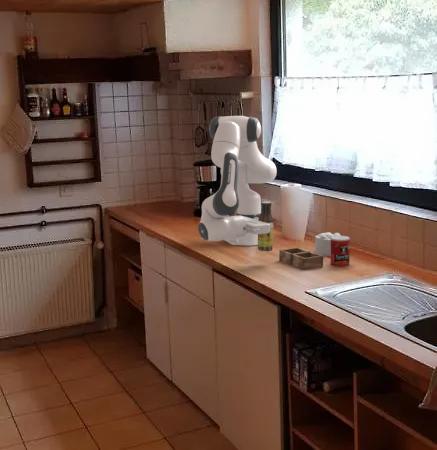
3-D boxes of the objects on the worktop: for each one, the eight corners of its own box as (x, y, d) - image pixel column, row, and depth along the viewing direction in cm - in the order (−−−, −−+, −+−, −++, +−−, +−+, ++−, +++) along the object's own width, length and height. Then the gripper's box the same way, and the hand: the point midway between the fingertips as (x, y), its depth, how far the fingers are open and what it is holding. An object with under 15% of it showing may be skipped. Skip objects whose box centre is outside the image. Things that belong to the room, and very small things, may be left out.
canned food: (334, 266, 287) (334, 240, 285) (327, 262, 295) (327, 236, 292) (352, 265, 288) (352, 238, 286) (345, 261, 296) (345, 235, 294)
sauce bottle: (255, 251, 290) (254, 202, 286) (261, 247, 296) (260, 200, 292) (270, 252, 287) (269, 203, 284) (275, 249, 293) (275, 201, 289)
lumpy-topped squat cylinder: (330, 249, 318) (330, 230, 317) (349, 254, 307) (350, 234, 306) (311, 252, 313) (312, 232, 312) (330, 258, 302) (331, 237, 301)
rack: (279, 260, 299) (279, 250, 298) (297, 257, 303) (297, 247, 302) (304, 269, 283) (304, 258, 282) (322, 266, 287) (323, 255, 287)
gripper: (251, 223, 274) (281, 219, 280) (225, 215, 291) (254, 211, 298) (251, 239, 275) (281, 235, 281) (225, 230, 293) (254, 226, 299)
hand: (267, 223), depth 290 cm, fingers closed on sauce bottle, 6 cm apart
